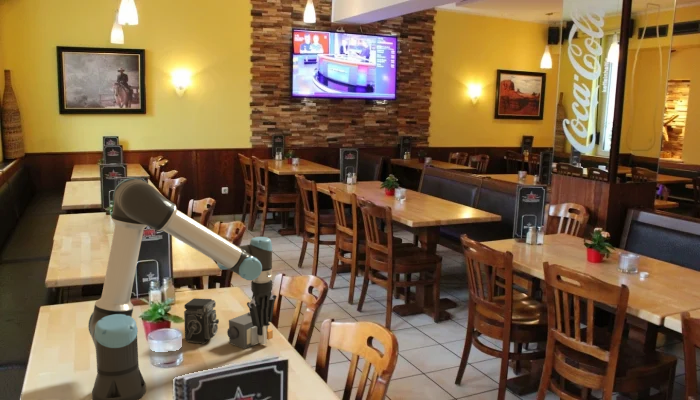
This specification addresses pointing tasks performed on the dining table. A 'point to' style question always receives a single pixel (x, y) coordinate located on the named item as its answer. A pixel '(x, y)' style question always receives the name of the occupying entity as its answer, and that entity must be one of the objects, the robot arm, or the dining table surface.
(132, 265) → the robot arm
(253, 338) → the side door
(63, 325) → the dining table surface
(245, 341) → the housing
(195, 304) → the camera
